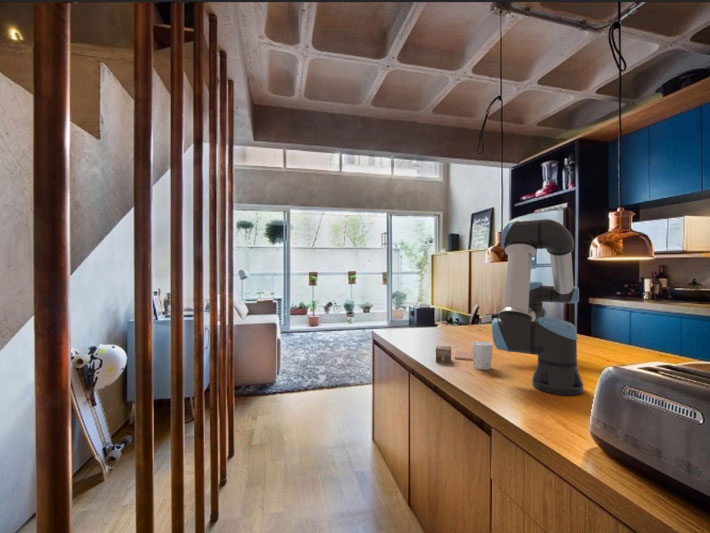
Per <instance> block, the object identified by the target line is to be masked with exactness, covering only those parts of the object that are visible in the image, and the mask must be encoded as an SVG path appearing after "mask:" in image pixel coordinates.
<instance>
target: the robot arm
mask: <svg viewBox="0 0 710 533" xmlns="http://www.w3.org/2000/svg"><path fill="white" fill-rule="evenodd" d="M500 238H501V240H500V246H501V249H502V250H504V253H505V255H507V267H506V276H505V286H504V287H505V288H504V297H503V307H502V308H503V309H502V310H499V312H498V313H486V314H485V315H482V316H481V318H480V319H481V323H483V324H484V323H491V334H492V340H493V344H494V346H495V348H496V349H498V350H499V351H504V352H508V353H510V352H511V353H518V354H519V353H521V354H526V355H527V354H528V355H534V356H535V355H536V356H537V365H536V366H535V369H534V373H533V376H532V386H533V387H534V388H535V389H537V390H539V391H542V392H544V393H548V394H553V395H556V396H557V395H558V396H567V397H568V396H569V397H570V396H579V395H582V394H583V393H584V383H583V380H582V377H581V375H580V371H579V369H578V342H577V341H578V339H579V338H578V332H577V327H576V326H575V325H574V324H573V323H572V322H569V321H567V320H564V319H557V318H553V317H547V310H546V308H544V306H543V303H558V304H559V303H560V304H578V303H579V301H580V288H579V287H578V286H574V274H573V259H572V252H573V251H574V249H575V240H574V238H573V236H572V234H571V232H570V230H568V228H566V226H564V225H563V224H561V223H560V222H558V221H556V220H553V219H550V218H544V219H531V220H521V221H520V220H516V221H510V222H507V223H505V225H504V226H503V228H502V232H501V237H500ZM537 250H546V251H547V253H548V254H549V257H550V265H551V273H552V282H553V285H552V286H551V285H544V284H543V282H542V281H531V276H532V274H531V273H532V261H533V257H534V256H535V255H536V254H537V252H538V251H537Z"/></svg>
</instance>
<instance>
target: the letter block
mask: <svg viewBox="0 0 710 533" xmlns="http://www.w3.org/2000/svg"><path fill="white" fill-rule="evenodd" d="M451 361H452V346H450V345H437V346H435V363H440V362H444V363H443V364H451Z"/></svg>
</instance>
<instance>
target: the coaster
mask: <svg viewBox="0 0 710 533" xmlns="http://www.w3.org/2000/svg"><path fill="white" fill-rule="evenodd" d="M461 359H462V360H463V361H473V352H469V351H456V353H455V357H454V360H461Z"/></svg>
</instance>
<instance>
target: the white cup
mask: <svg viewBox="0 0 710 533" xmlns="http://www.w3.org/2000/svg"><path fill="white" fill-rule="evenodd" d="M471 346H472V350H471V351H472V352H471V353H473V360H472V361H473V368H475V369H477V370H481V371H483V370H491V369H492V361H493V360H492V359H493V358H492V357H493V343H492V342H489V341H484V340H476V341H472V342H471Z"/></svg>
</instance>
